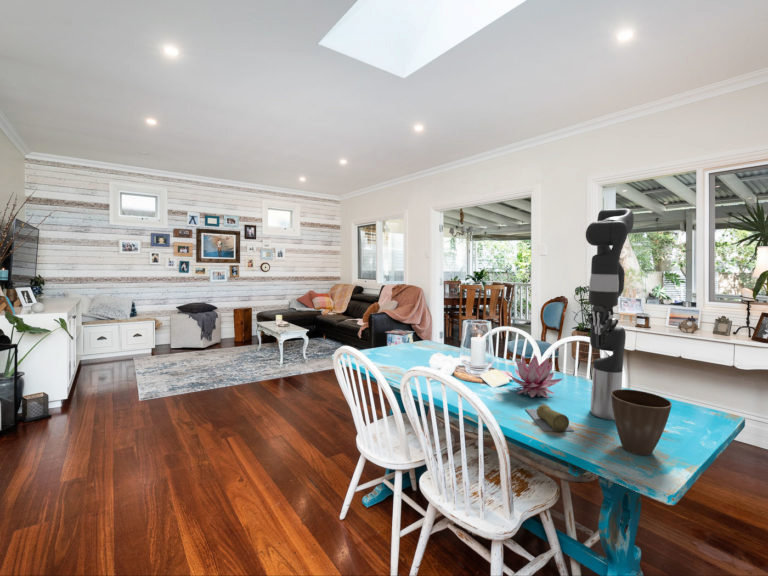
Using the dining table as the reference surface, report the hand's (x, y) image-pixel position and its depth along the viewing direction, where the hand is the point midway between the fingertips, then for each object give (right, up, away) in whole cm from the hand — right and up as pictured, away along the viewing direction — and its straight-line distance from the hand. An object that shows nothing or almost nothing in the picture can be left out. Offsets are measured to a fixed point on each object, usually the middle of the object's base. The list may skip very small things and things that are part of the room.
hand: (600, 346), depth 113 cm
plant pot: (+11, -31, 0) cm, 33 cm away
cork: (-7, -27, +11) cm, 30 cm away
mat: (-7, -29, +21) cm, 36 cm away
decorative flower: (-2, -28, +47) cm, 55 cm away
